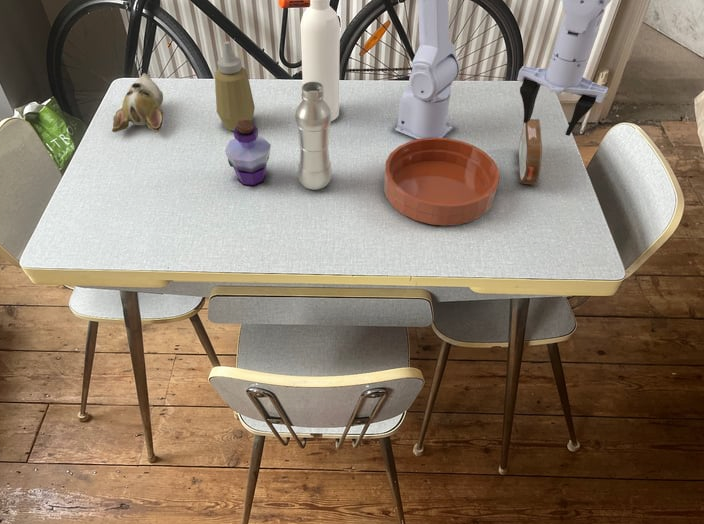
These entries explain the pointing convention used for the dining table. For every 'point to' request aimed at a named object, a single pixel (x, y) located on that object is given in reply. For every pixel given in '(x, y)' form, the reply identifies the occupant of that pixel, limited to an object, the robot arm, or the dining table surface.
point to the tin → (530, 152)
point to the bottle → (322, 50)
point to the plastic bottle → (313, 137)
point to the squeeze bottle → (232, 90)
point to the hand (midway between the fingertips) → (547, 126)
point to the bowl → (440, 181)
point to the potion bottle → (248, 154)
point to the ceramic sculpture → (140, 106)
